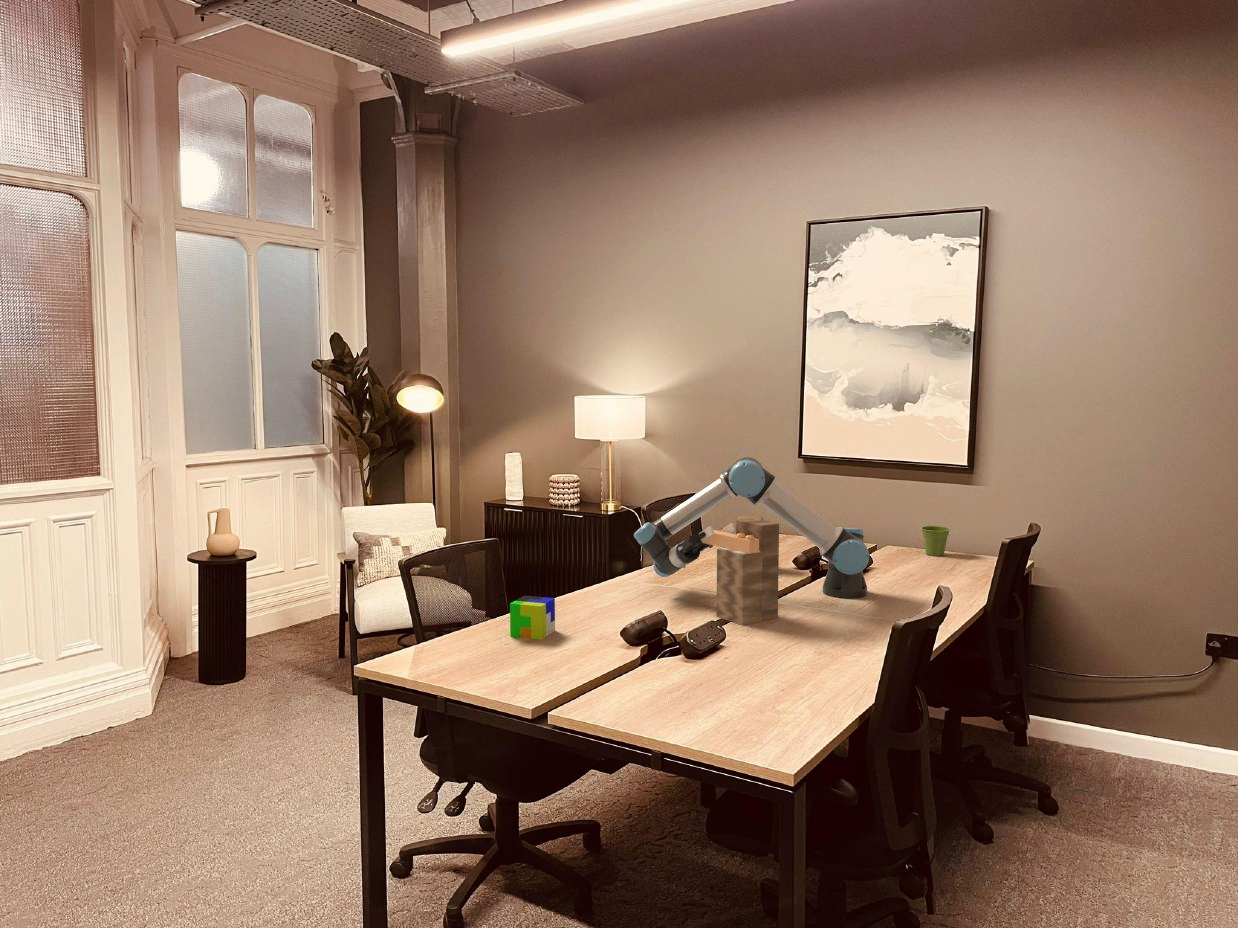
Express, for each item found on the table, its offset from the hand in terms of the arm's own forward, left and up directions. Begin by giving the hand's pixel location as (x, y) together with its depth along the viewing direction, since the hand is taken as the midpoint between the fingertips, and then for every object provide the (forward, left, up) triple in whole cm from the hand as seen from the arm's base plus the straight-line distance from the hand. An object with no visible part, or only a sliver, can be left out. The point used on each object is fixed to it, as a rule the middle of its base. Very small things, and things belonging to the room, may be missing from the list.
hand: (723, 528), depth 292 cm
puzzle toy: (+61, +10, -28) cm, 68 cm away
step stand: (-7, +4, -28) cm, 29 cm away
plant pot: (-114, -74, -28) cm, 139 cm away
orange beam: (-2, +2, -6) cm, 6 cm away
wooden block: (-30, -64, -28) cm, 76 cm away
